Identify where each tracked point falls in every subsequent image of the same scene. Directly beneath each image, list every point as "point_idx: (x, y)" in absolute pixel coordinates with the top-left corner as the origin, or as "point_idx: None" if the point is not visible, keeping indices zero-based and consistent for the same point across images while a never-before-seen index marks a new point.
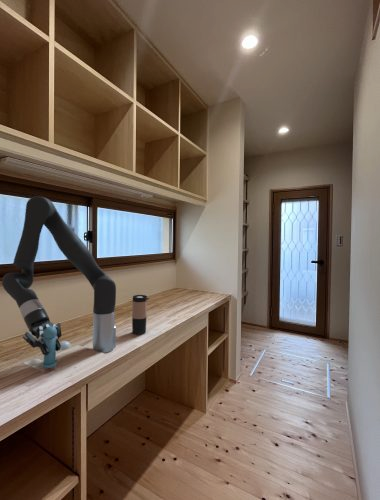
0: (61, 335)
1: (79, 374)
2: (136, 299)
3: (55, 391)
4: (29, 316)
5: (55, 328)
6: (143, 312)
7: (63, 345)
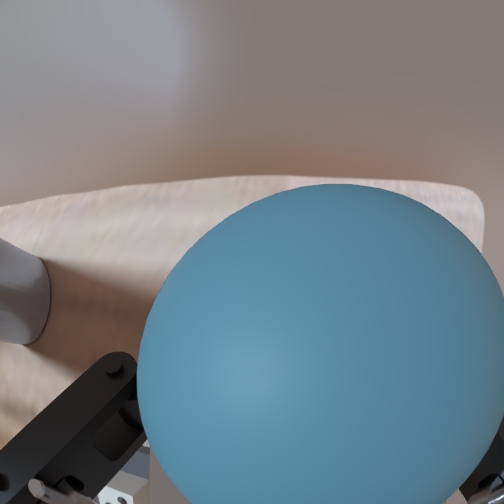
0: (106, 354)
1: (222, 204)
2: None
3: (360, 183)
4: None
5: (205, 245)
6: None
7: None
